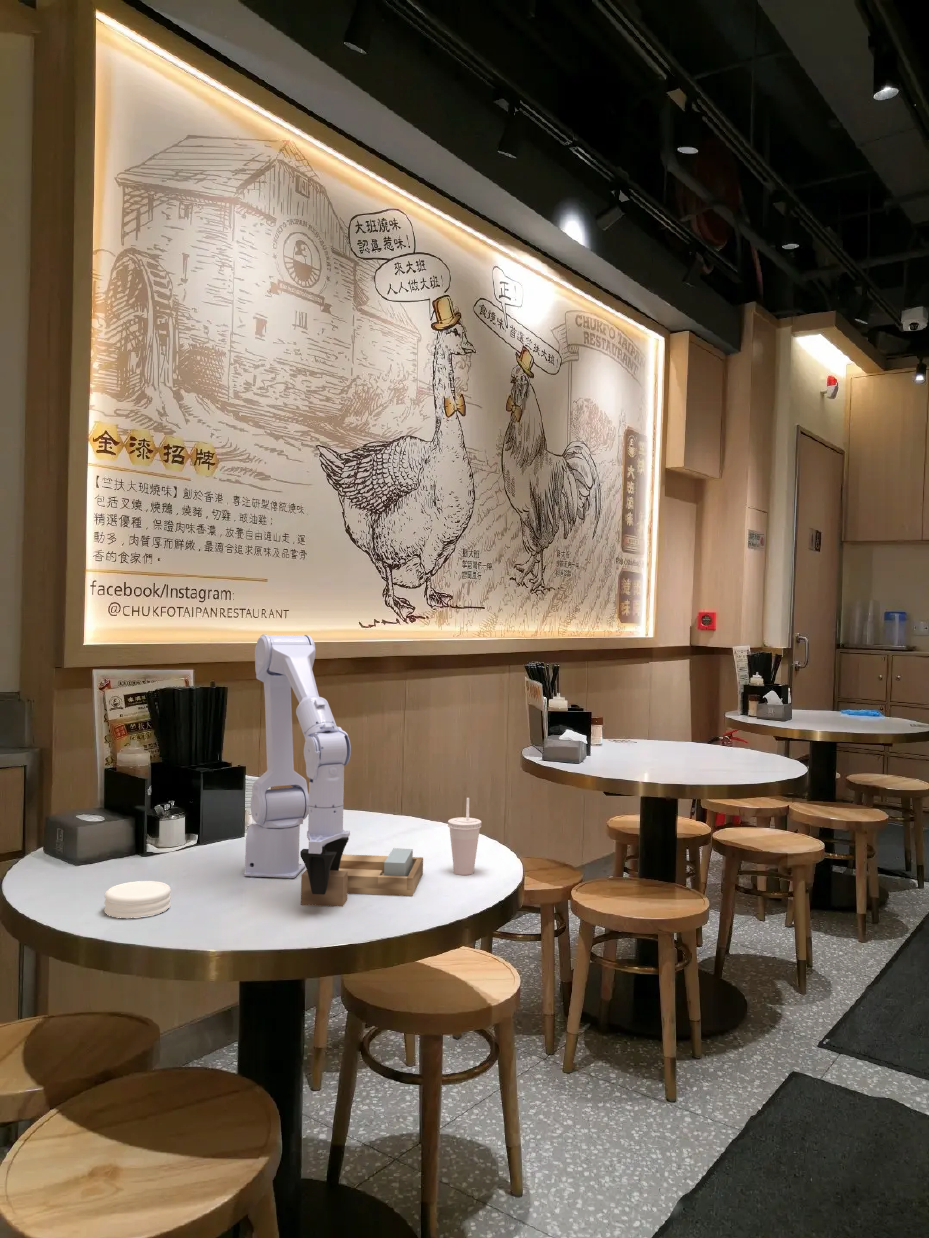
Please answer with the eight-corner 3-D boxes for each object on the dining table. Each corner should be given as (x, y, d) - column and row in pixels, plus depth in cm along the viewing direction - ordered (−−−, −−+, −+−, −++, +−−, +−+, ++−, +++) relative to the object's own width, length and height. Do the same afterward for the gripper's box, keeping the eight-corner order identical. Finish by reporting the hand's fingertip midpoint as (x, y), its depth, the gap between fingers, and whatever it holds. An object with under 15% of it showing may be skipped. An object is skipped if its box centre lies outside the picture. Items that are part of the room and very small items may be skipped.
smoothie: (477, 878, 163) (478, 801, 163) (443, 875, 164) (444, 799, 164) (483, 869, 169) (484, 795, 169) (450, 866, 170) (452, 793, 170)
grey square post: (383, 885, 154) (384, 862, 154) (393, 869, 164) (393, 848, 164) (404, 886, 153) (404, 862, 153) (412, 870, 163) (412, 848, 163)
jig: (308, 891, 153) (309, 874, 153) (327, 869, 167) (328, 853, 167) (412, 895, 151) (412, 878, 151) (422, 873, 165) (423, 857, 165)
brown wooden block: (300, 905, 145) (301, 874, 145) (306, 899, 149) (306, 869, 149) (342, 907, 145) (343, 876, 145) (347, 900, 148) (347, 870, 148)
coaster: (100, 906, 144) (100, 884, 144) (164, 898, 148) (164, 876, 148) (108, 924, 135) (109, 901, 135) (176, 915, 140) (176, 892, 140)
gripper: (340, 814, 139) (338, 900, 139) (358, 797, 154) (357, 875, 154) (296, 812, 140) (294, 899, 140) (318, 796, 154) (317, 874, 154)
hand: (324, 886), depth 147 cm, fingers open, 7 cm apart
